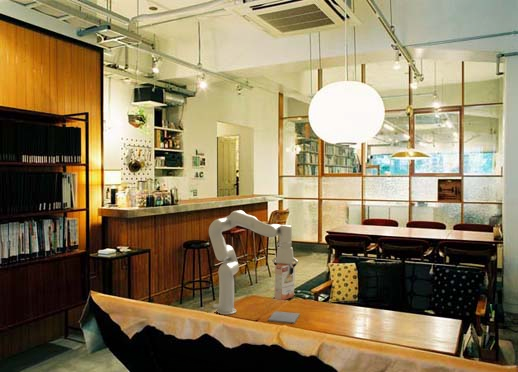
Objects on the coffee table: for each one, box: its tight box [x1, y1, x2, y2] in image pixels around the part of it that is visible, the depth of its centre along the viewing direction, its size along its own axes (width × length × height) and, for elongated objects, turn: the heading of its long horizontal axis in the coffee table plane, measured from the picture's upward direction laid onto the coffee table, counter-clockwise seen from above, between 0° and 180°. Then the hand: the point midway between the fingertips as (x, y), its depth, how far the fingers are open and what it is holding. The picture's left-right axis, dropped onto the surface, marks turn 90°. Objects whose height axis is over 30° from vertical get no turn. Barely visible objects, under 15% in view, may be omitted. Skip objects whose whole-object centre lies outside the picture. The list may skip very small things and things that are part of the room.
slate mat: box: [267, 311, 301, 325], centre depth 268 cm, size 16×18×1 cm
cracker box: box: [273, 262, 296, 301], centre depth 268 cm, size 14×6×21 cm, turn 143°
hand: (285, 273), depth 268 cm, fingers closed on cracker box, 7 cm apart
